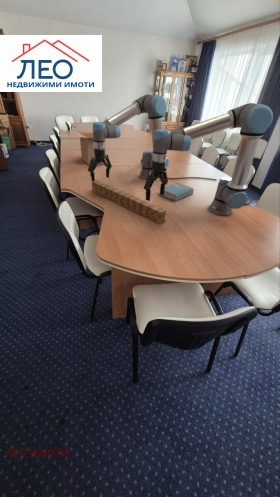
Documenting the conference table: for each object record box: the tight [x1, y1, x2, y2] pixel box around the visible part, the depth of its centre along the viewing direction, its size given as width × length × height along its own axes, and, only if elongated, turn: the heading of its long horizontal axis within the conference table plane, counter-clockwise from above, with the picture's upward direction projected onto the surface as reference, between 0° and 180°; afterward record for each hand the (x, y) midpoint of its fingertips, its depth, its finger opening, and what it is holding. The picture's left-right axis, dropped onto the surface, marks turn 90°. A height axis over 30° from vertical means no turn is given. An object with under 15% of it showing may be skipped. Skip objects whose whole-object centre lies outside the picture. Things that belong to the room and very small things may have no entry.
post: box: [91, 179, 167, 224], centre depth 154 cm, size 67×5×8 cm, turn 48°
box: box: [70, 129, 107, 166], centre depth 229 cm, size 44×36×27 cm
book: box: [158, 182, 194, 202], centre depth 175 cm, size 23×16×5 cm
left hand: (100, 179), depth 163 cm, fingers open, 13 cm apart
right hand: (154, 197), depth 135 cm, fingers open, 13 cm apart
